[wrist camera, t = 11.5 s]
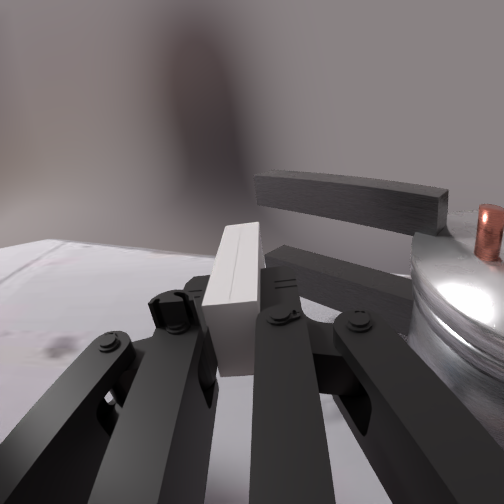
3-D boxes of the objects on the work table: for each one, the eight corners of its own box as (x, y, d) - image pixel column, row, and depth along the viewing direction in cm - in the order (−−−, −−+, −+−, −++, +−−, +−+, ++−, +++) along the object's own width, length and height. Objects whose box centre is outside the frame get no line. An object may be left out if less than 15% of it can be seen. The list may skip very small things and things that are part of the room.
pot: (277, 578, 10) (248, 543, 5) (272, 316, 34) (260, 216, 29) (605, 440, 8) (674, 326, 3) (482, 285, 32) (495, 197, 27)
